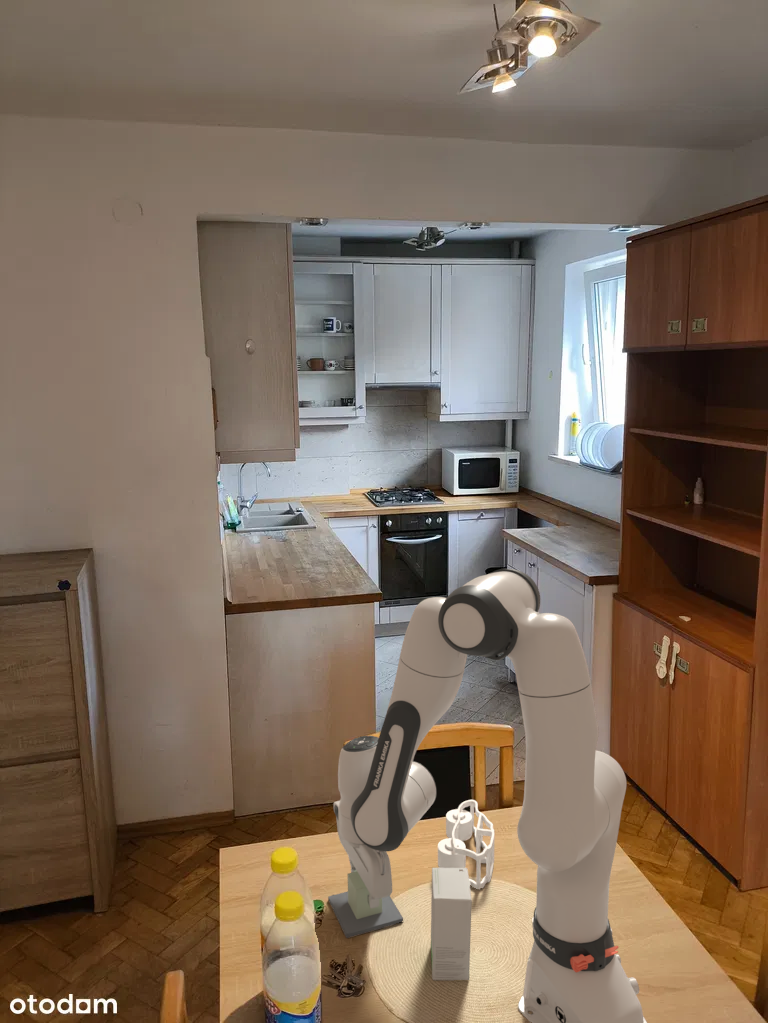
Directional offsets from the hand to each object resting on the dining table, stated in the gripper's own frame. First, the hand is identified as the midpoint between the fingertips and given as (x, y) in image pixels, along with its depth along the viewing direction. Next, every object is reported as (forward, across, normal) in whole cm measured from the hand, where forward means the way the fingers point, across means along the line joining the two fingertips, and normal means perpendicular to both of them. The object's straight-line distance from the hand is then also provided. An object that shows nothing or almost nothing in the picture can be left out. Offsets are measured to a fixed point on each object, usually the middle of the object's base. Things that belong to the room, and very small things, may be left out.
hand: (364, 889), depth 143 cm
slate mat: (+4, 0, 0) cm, 4 cm away
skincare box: (+5, -18, -9) cm, 21 cm away
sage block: (+4, 0, 0) cm, 4 cm away
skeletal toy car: (+5, +7, -26) cm, 27 cm away
